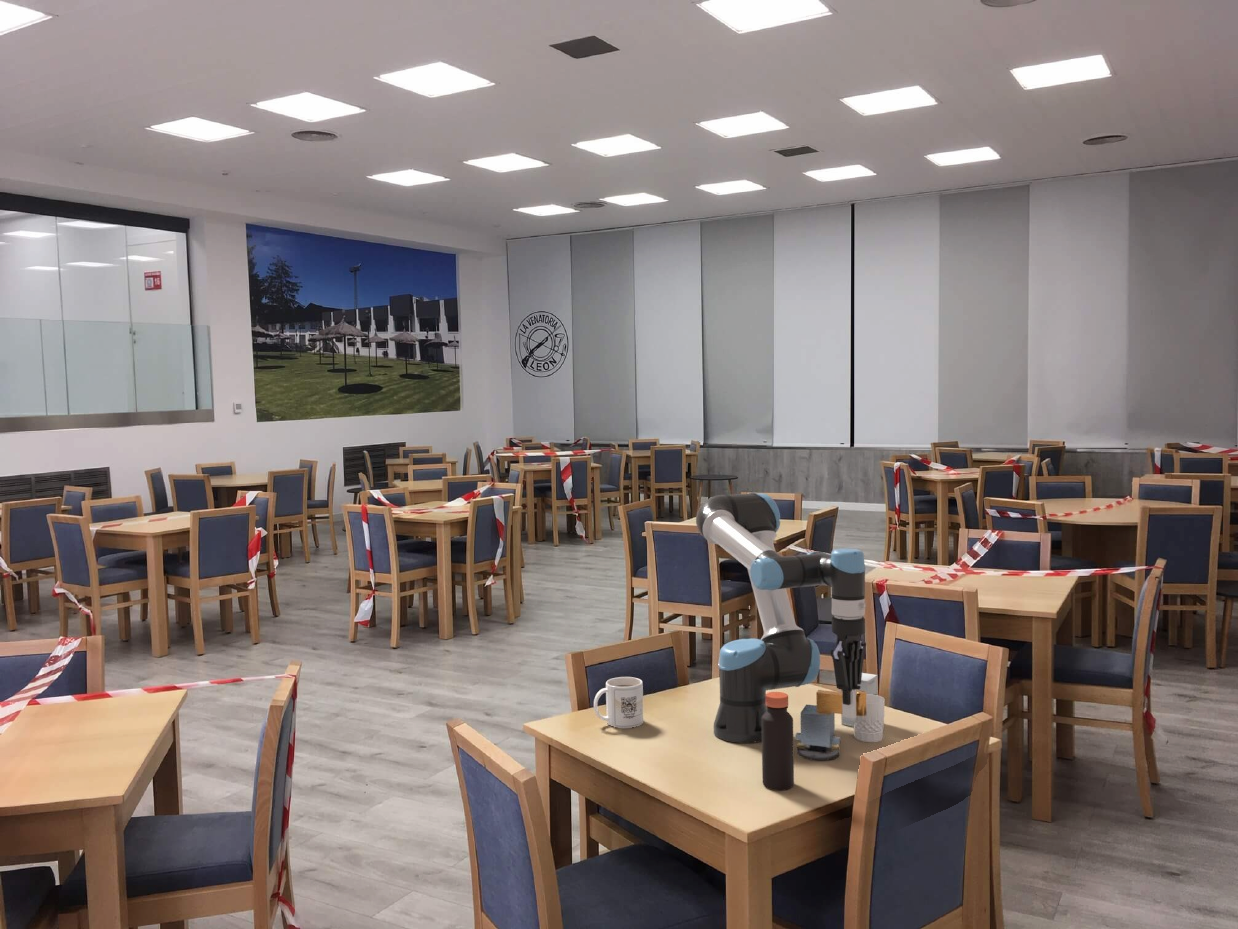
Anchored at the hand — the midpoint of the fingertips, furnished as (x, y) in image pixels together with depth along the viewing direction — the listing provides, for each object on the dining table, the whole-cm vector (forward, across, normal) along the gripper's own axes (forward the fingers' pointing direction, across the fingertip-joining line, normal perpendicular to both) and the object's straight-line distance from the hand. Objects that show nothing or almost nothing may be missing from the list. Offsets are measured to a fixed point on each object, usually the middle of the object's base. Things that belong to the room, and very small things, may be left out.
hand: (849, 717), depth 215 cm
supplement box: (+11, +27, +11) cm, 31 cm away
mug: (+11, -12, +61) cm, 63 cm away
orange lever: (+8, +2, +6) cm, 10 cm away
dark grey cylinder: (+11, +1, +9) cm, 14 cm away
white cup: (+11, +18, +4) cm, 21 cm away
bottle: (+11, -22, +6) cm, 25 cm away
